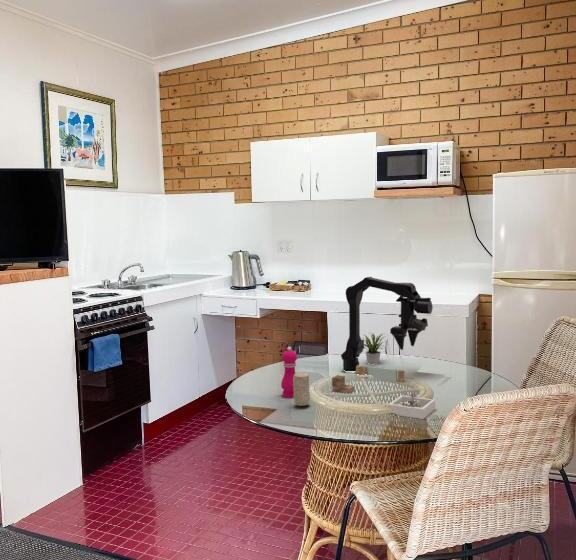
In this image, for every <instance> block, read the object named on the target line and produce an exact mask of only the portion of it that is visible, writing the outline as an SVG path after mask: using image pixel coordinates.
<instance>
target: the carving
mask: <svg viewBox="0 0 576 560" xmlns="http://www.w3.org/2000/svg"><path fill="white" fill-rule="evenodd" d="M293 386H294V388H293V389H294V390H293V391H294V398H293V403H294V404H295V406H298V407H299V406H300V407H301V406H309V405H310V402H311V394H310V375H309V373H307V372H297V373H295V374H294V378H293Z"/></svg>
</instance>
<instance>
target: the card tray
mask: <svg viewBox="0 0 576 560" xmlns="http://www.w3.org/2000/svg"><path fill="white" fill-rule="evenodd" d="M411 396H412V395H410V396H409V395H403V394H402V395H400V396H398V397H397V398H395V399H394V400H393V401H391V402H390V403H388V406H387V407H388V408H390V409H392V410H393V411H394V413H395V414H396V415H395V414H394V415H395V416H400V417H406V418H412V419H420V420H424V419H426V418H427V417H428V416H429V415H430V414H431V413H432V412H434V411H435V410H436V399H430V398H424V397H418V396H417V400H419V401H420V403H421V404H422V408H416V407H409V406H406V405H396V404H398V403H400V402H407V401H409V400H411ZM414 400H415V397H414Z"/></svg>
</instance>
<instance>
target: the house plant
mask: <svg viewBox="0 0 576 560" xmlns="http://www.w3.org/2000/svg"><path fill="white" fill-rule="evenodd" d="M362 334H363V333H362ZM369 334H370V336H371V339H372V342H371V339H370V338H369V337H368V336H367V335H366V334H363V336H364V337H365V338H364V337H362V340H364V342H365V343H364V349H366V350H367V351H365V356H366V362H367V364H368V363H369V364H378V363H380V359H381V358H380V357H381V351H378V350H379V349H380V347H381V346H382V344H383V343H384V342H381V341H382V340H384V338H386V337H387V335H385V334H386V332H382V333H381V334H380V335H379V334H378V335H377V336H376V335H375V334H374V333H373V332H371V333H369ZM383 335H385V336H383ZM382 336H383V337H382ZM381 349H383V350H384V348H383V347H381ZM378 365H379V364H378Z"/></svg>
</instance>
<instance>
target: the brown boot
mask: <svg viewBox="0 0 576 560" xmlns="http://www.w3.org/2000/svg"><path fill="white" fill-rule="evenodd" d="M331 382H332V383H331V389H332V390H331V392H334V393H342V394H352V393H354V392H355V391H356V386H355V385H351V384H346V383H345V382H346V377H345V375H340V374H339V375H338V374H337V375H335V376H333V377H331Z"/></svg>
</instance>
